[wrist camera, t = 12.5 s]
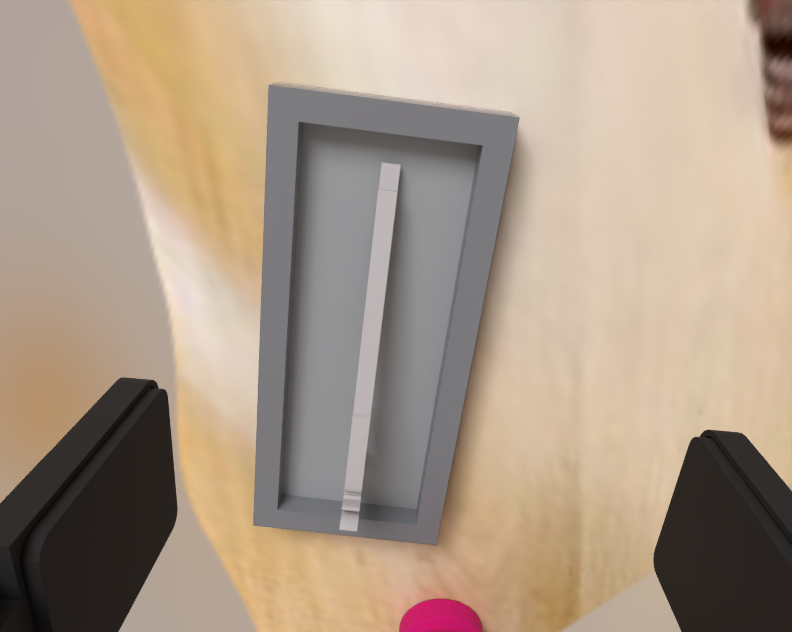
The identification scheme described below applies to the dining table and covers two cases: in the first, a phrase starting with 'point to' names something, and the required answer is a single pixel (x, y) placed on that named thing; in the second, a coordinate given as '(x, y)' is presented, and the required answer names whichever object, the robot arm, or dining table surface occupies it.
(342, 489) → the tool case
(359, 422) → the caliper
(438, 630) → the pepper mill
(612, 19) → the dining table surface
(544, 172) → the dining table surface
